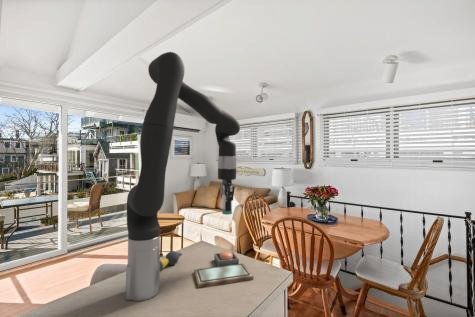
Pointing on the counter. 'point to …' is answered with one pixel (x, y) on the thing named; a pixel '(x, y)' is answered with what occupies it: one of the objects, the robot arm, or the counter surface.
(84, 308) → the counter surface
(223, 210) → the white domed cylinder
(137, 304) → the counter surface
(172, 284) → the counter surface
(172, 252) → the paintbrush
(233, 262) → the button housing
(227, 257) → the button
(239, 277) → the framed mirror
